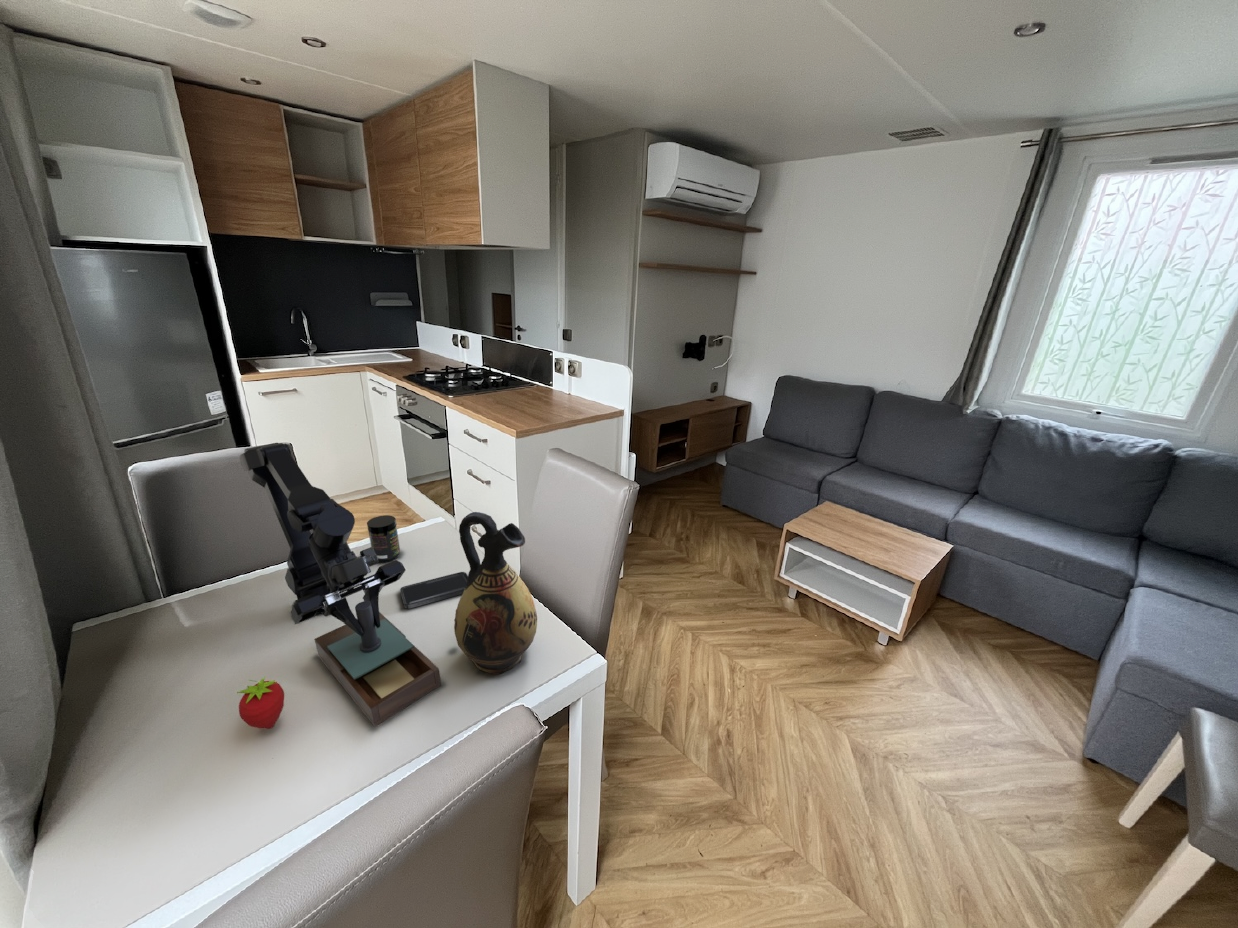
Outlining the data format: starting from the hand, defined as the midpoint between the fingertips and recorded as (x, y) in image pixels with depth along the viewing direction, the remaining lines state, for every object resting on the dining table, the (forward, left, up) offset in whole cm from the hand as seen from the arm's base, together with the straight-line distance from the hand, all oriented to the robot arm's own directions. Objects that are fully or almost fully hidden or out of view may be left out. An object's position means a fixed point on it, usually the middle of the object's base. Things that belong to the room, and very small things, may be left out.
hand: (370, 631), depth 89 cm
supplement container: (-6, +43, -9) cm, 44 cm away
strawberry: (-15, -9, -9) cm, 20 cm away
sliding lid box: (0, 0, -9) cm, 9 cm away
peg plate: (-1, +1, -5) cm, 5 cm away
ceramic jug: (+21, 0, -9) cm, 23 cm away
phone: (+8, +24, -9) cm, 27 cm away
